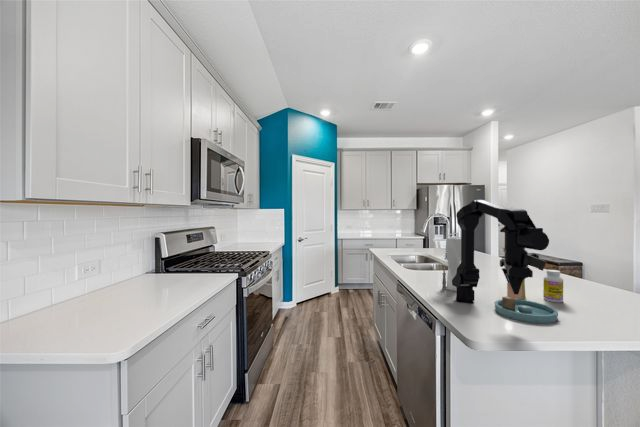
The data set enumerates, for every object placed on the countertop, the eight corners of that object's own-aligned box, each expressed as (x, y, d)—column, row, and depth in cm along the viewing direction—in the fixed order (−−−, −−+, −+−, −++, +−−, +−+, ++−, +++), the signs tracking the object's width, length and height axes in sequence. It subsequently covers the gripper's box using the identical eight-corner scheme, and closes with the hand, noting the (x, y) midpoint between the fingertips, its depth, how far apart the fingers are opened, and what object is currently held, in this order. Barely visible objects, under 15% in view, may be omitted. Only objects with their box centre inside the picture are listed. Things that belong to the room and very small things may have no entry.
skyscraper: (448, 286, 151) (448, 232, 150) (465, 289, 145) (465, 233, 144) (441, 289, 145) (441, 233, 144) (458, 293, 139) (458, 234, 138)
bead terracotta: (508, 298, 98) (508, 284, 98) (506, 294, 102) (506, 281, 102) (523, 299, 96) (523, 285, 96) (520, 296, 100) (520, 282, 100)
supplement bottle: (546, 301, 124) (546, 271, 124) (541, 297, 130) (541, 268, 130) (566, 303, 121) (565, 272, 121) (559, 299, 127) (559, 269, 127)
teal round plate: (499, 318, 105) (499, 311, 105) (491, 302, 123) (491, 297, 123) (566, 326, 98) (566, 319, 98) (547, 308, 115) (547, 302, 115)
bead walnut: (500, 307, 114) (500, 296, 114) (512, 308, 113) (512, 296, 113) (504, 311, 110) (504, 299, 110) (517, 312, 109) (517, 300, 109)
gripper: (553, 251, 87) (553, 303, 87) (535, 244, 104) (535, 287, 104) (509, 249, 91) (509, 299, 91) (499, 243, 108) (499, 285, 109)
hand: (514, 292), depth 99 cm, fingers closed on bead terracotta, 4 cm apart
